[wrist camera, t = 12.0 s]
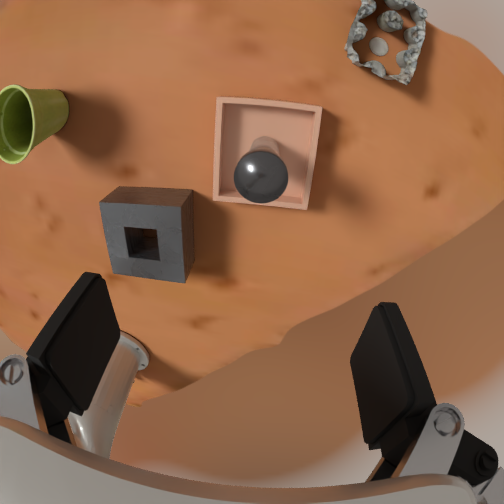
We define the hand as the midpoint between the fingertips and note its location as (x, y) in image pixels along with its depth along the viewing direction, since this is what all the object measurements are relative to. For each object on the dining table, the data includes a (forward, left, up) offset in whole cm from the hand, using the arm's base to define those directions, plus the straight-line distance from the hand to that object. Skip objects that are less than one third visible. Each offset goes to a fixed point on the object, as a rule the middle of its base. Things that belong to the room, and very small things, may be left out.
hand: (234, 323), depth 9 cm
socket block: (-10, +13, -24) cm, 29 cm away
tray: (0, 0, -24) cm, 24 cm away
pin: (0, 0, -24) cm, 24 cm away
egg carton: (+16, -11, -25) cm, 32 cm away
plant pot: (+6, +28, -25) cm, 38 cm away
